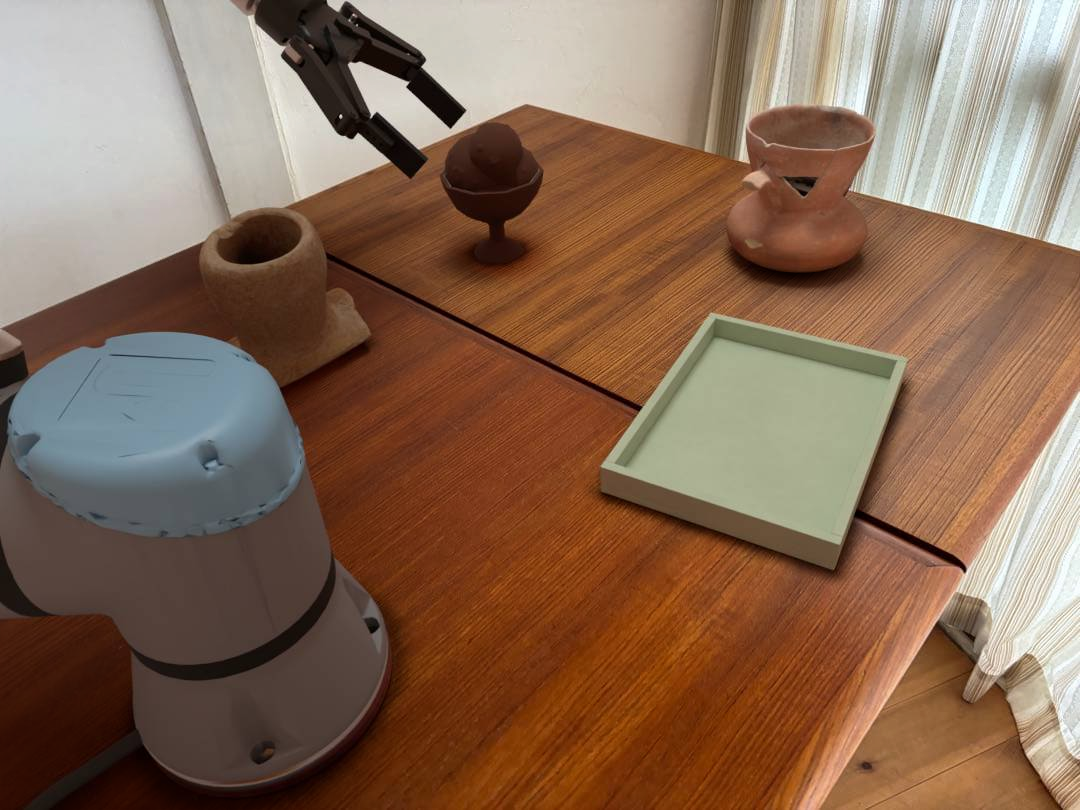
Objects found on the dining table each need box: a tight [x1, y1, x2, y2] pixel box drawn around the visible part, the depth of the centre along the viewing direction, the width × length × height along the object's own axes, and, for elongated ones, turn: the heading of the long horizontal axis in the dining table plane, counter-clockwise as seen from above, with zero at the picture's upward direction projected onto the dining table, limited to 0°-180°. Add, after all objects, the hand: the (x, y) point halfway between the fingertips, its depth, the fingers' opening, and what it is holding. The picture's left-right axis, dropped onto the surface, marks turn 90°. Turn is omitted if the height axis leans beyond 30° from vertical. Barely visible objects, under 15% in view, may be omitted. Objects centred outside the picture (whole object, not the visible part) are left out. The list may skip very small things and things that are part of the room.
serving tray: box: [599, 312, 909, 571], centre depth 68 cm, size 24×18×3 cm
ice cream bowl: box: [438, 121, 545, 265], centre depth 91 cm, size 11×11×15 cm
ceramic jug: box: [725, 103, 877, 273], centre depth 88 cm, size 18×14×14 cm
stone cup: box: [198, 206, 372, 389], centre depth 76 cm, size 15×12×15 cm
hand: (440, 143), depth 89 cm, fingers open, 13 cm apart
